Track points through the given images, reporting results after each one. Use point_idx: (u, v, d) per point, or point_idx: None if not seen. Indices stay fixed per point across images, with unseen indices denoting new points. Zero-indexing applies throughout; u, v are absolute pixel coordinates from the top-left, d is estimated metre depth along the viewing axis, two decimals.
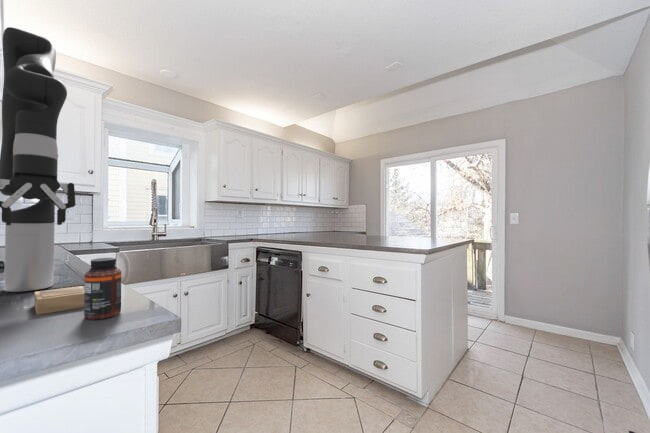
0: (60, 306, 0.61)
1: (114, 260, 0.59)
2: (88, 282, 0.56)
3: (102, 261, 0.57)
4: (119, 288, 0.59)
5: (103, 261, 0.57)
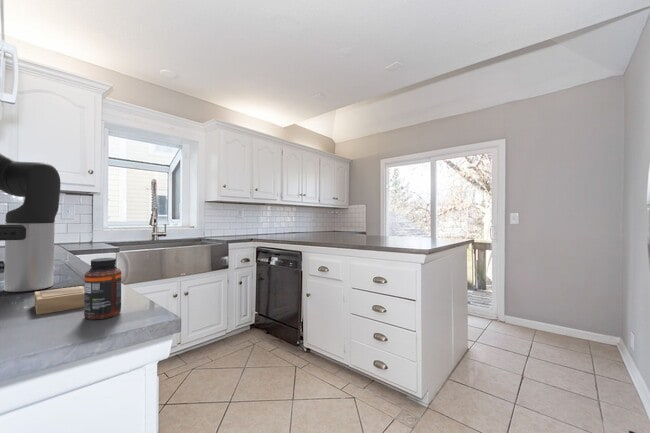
0: (60, 306, 0.61)
1: (114, 260, 0.59)
2: (88, 282, 0.56)
3: (102, 261, 0.57)
4: (119, 288, 0.59)
5: (103, 261, 0.57)
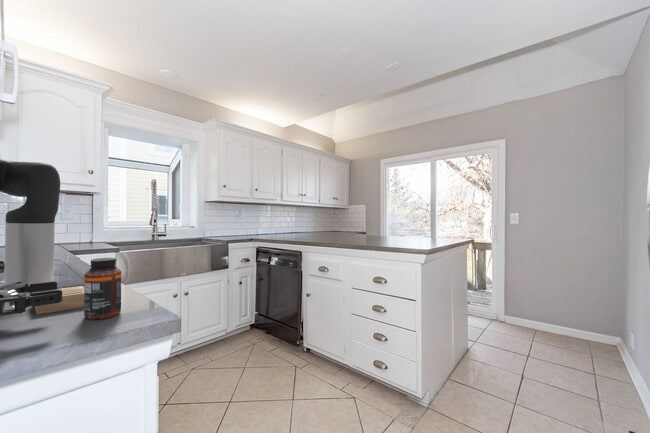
0: (60, 306, 0.61)
1: (114, 260, 0.59)
2: (88, 282, 0.56)
3: (102, 261, 0.57)
4: (119, 288, 0.59)
5: (103, 261, 0.57)
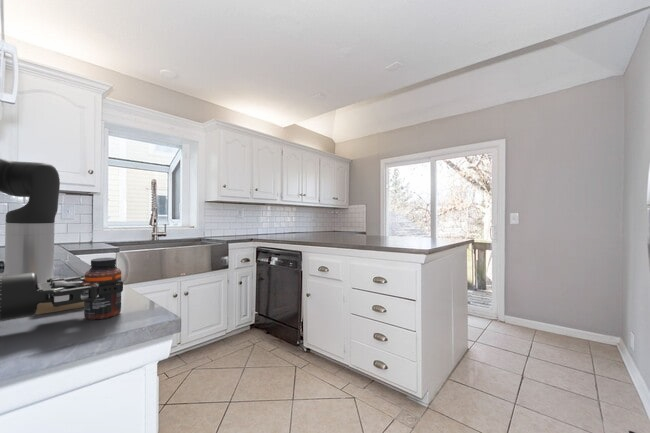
0: (60, 306, 0.61)
1: (114, 260, 0.59)
2: (88, 282, 0.56)
3: (102, 261, 0.57)
4: None
5: (103, 261, 0.57)
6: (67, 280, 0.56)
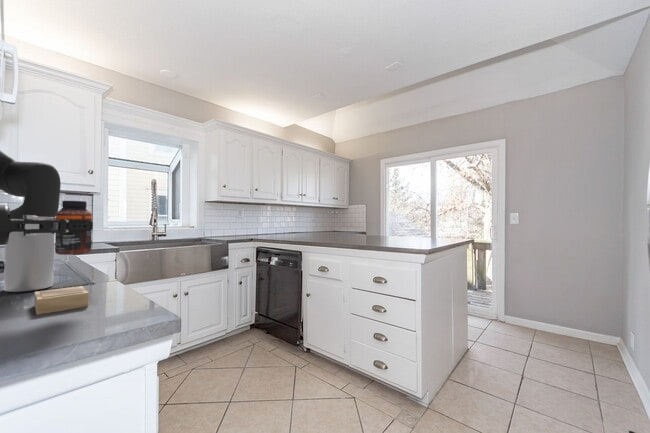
0: (60, 306, 0.61)
1: (85, 202, 0.64)
2: (59, 219, 0.60)
3: (73, 201, 0.62)
4: None
5: (74, 201, 0.62)
6: None
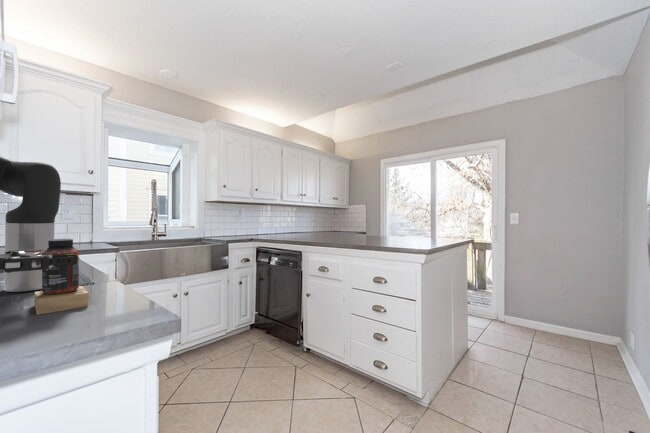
0: (60, 306, 0.61)
1: (71, 240, 0.64)
2: None
3: (58, 241, 0.62)
4: (76, 266, 0.64)
5: (59, 241, 0.62)
6: (27, 251, 0.61)
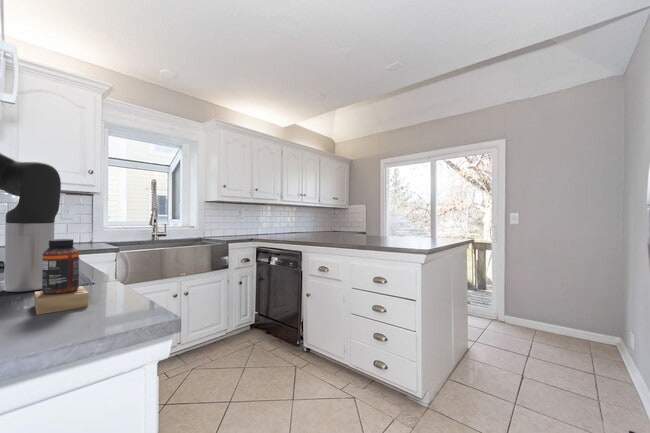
0: (60, 306, 0.61)
1: (71, 241, 0.64)
2: (45, 259, 0.61)
3: (59, 241, 0.62)
4: (76, 266, 0.64)
5: (60, 241, 0.62)
6: None
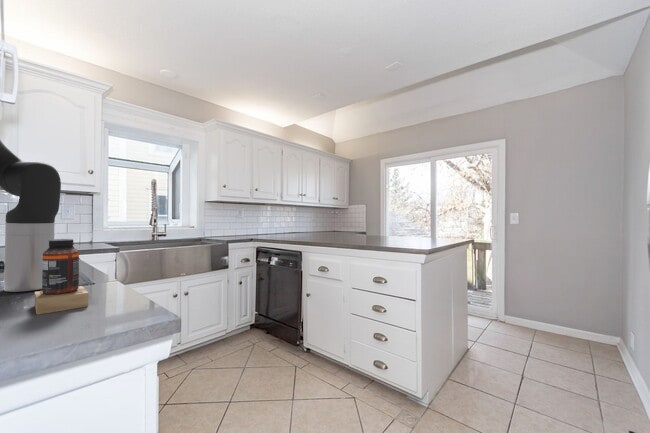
0: (60, 306, 0.61)
1: (71, 241, 0.64)
2: (45, 259, 0.61)
3: (59, 241, 0.62)
4: (76, 266, 0.64)
5: (60, 241, 0.62)
6: None
